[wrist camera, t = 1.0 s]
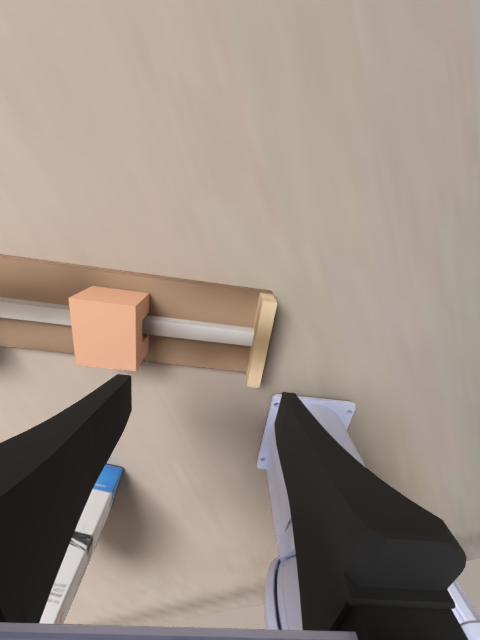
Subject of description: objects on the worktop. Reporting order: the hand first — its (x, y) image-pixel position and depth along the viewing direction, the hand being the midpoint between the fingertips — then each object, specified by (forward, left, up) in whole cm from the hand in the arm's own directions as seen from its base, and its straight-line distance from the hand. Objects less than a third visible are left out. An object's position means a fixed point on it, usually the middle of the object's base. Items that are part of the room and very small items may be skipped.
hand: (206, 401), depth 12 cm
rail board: (0, +8, -9) cm, 12 cm away
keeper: (0, +7, -8) cm, 11 cm away
